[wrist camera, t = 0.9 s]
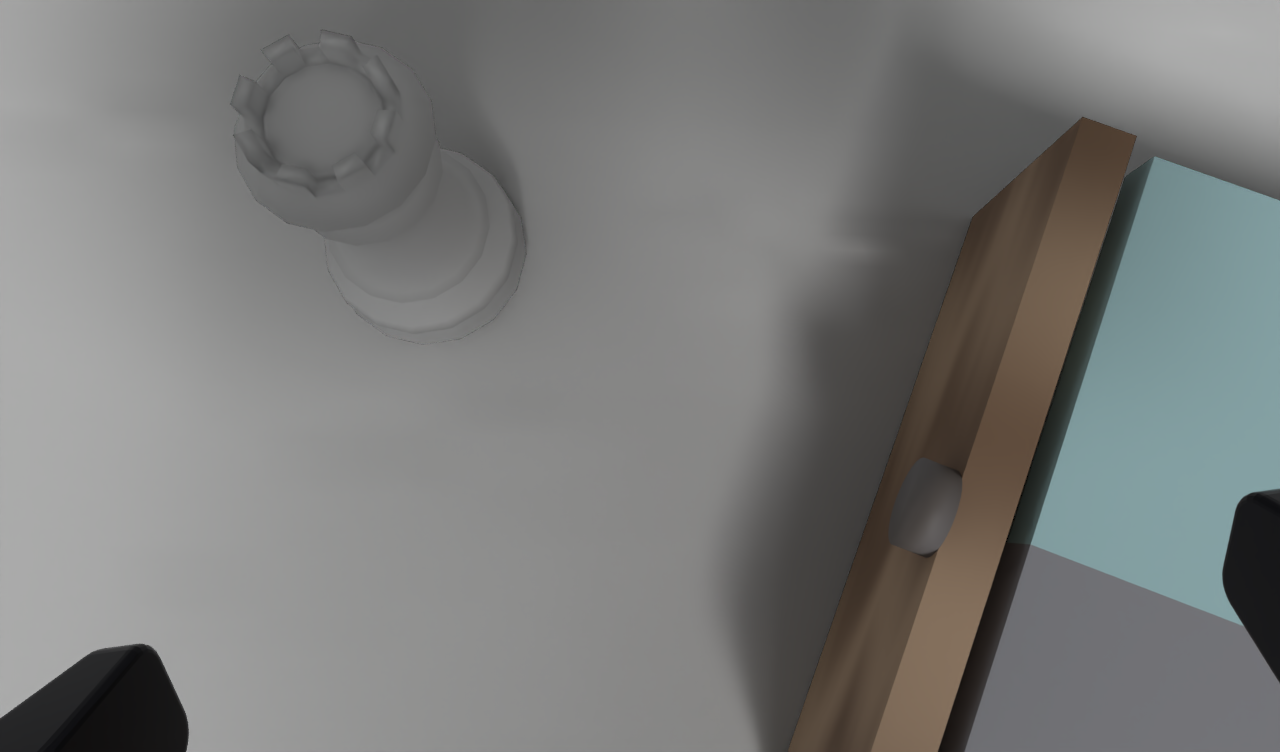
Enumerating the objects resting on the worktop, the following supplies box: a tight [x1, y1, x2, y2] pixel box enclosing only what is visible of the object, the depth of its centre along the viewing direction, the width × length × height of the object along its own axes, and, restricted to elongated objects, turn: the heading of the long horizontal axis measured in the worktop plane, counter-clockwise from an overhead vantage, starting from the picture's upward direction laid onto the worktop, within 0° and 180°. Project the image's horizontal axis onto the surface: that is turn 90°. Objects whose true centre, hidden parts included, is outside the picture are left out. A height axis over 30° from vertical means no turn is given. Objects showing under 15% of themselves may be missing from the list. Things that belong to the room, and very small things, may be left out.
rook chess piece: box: [230, 30, 526, 345], centre depth 18 cm, size 4×4×8 cm
